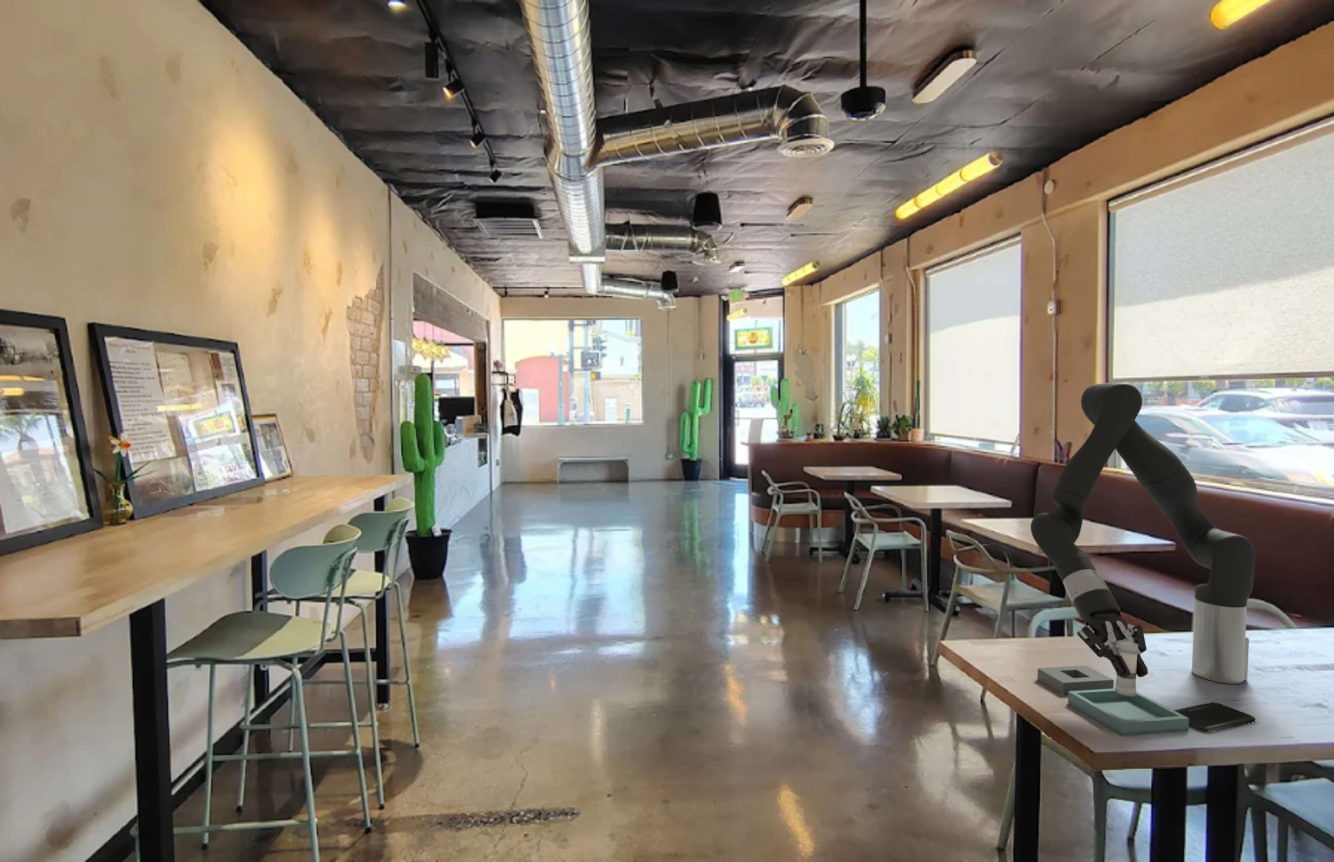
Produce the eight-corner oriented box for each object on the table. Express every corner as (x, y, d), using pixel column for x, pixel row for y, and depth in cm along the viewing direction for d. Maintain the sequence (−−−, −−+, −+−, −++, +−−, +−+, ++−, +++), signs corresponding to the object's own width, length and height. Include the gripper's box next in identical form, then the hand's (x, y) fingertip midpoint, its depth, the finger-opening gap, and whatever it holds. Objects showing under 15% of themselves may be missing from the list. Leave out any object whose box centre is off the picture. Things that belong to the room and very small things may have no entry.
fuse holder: (1085, 676, 155) (1085, 665, 155) (1113, 691, 147) (1113, 679, 147) (1037, 679, 154) (1037, 668, 154) (1063, 694, 146) (1063, 682, 146)
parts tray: (1128, 699, 144) (1128, 687, 143) (1188, 731, 130) (1188, 718, 130) (1068, 703, 141) (1068, 691, 141) (1122, 736, 128) (1123, 723, 128)
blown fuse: (1126, 688, 137) (1128, 639, 137) (1140, 695, 134) (1142, 645, 133) (1111, 689, 137) (1113, 640, 136) (1124, 696, 133) (1126, 646, 133)
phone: (1258, 718, 134) (1205, 729, 129) (1258, 724, 134) (1205, 735, 129) (1214, 701, 141) (1163, 711, 136) (1214, 706, 141) (1163, 717, 136)
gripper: (1070, 588, 141) (1114, 669, 129) (1130, 586, 143) (1179, 666, 131) (1050, 605, 146) (1091, 685, 135) (1109, 603, 148) (1154, 682, 137)
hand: (1134, 675), depth 133 cm, fingers closed on blown fuse, 3 cm apart
